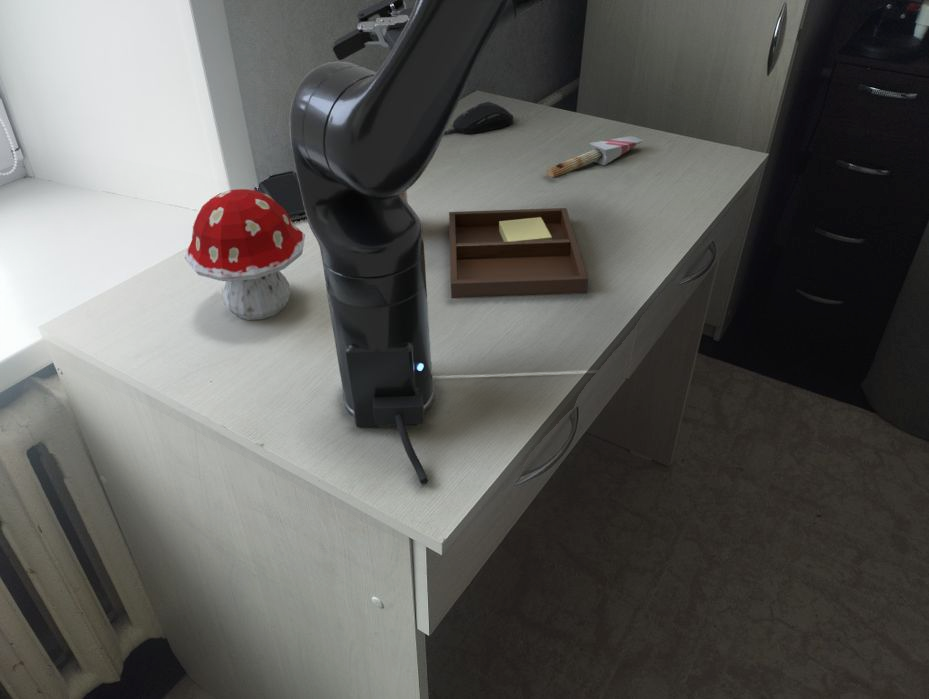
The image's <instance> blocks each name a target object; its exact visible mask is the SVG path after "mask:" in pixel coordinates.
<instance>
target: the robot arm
mask: <svg viewBox="0 0 929 699" xmlns="http://www.w3.org/2000/svg"><path fill="white" fill-rule="evenodd" d="M548 1H549V0H415V3H414V6H412V7H407V5H406V2H405V0H380V1H378V2H377V3H374V4H372V5H370V6H369V7H366V8H364V9H362V10H360V11H359V12H358V13H357V14H356V17H357V19H358V23H357V25H356V28H355V29H353V30H351V31H350V32H348V33H346V34H344V35H342V36H340V37H339V38H337V39H335V41H333V42H331V45H330V46H331V49H332V52H333V53H334V55H335V57H336V59H337V60H339V61H328V62H326V63H323V64H320V65H318V66H316V67H315V68H313V69H312V70H311V71H309V72H308V73H307V74H306V75H305V76H304V77H303V78H302V80H301V81H300V82H299V84H298V86H297V88H296V90H295V92H294V95H293V98H292V100H291V103H290V104H291V105H290V110H289V123H288V124H289V126H288V127H289V129H288V130H289V140H290V146H291V152H292V158H293V163H294V169H295V171H296V173H297V177H298V182H299V187H300V192H301V196H302V201H303V206H304V210H305V214H306V218H305V219H306V221H307V224H308V226H309V228H310V230H311V232H312V234H313V236H314V238H315V239H316V241H317V243H318V246H319V249H320V256H321V262H322V268H323V273H324V280H325V285H326V286H325V288H326V293H327V301H328V308H329V312H330V318H331V325H332V332H333V338H334V344H335V350H336V356H337V362H338V368H339V375H340V381H341V387H342V399H343V406H344V408H345V410H346V412H347V413H348V414H349V415H350V417H352V418H353V419H354V423H355V427H356V428H378V427H380V428H381V427H384V428H385V427H386V428H388V427H397V429H398V433H399V436H400V439H401V443H402V445H403V449H404V450H405V452H406V455H407V457H408V459H409V461H410V463H411V465H412V467H413V469H414V470H415V473H416V475H417V477H418V480H419V483H420V484H421V485H426V484H427V483H428V482H429V479H428V477H427V474H426V472H425V469H424V466H423V465H422V463H421V461H420V459H419V458H418V455H417V454H416V452H415V449H414V448H413V445H412V444H413V443H412V442H411V439H410V437H409V433H408V430H407V426H417V425H423V424H424V422H425V421H424V416H425V413H427V411H429V409H430V407H432V404H433V402H434V400H435V384H434V380H433V379H434V378H433V364H432V351H431V335H430V321H429V307H428V306H429V305H428V304H429V303H428V292H427V291H428V288H427V273H426V270H427V269H426V256H425V242H424V229H423V225H422V222H421V219H420V217H419V216H418V213H417V212H416V211H415V210H414V208H412V206H411V205H410V204H409V202H408V203H407V201H406V200H405V199H404V197H403V196H402V193H403V192H405V191H406V190H407V191H408V190H409V189H411V187H412V186H414V185H415V183H416V182H417V181H418V180H419V179H420V178H421V176H422V175H423V174H424V172H425V171H426V170H427V168H428V166H429V165H430V163H431V161H432V159H434V156H435V154H436V152H437V150H438V148H439V146H440V144H441V142H442V140H443V137H444V136H445V134H446V133H445V131H447V130H448V127H449V125H450V123H451V121H452V118H453V116H454V114H455V111H456V109H457V107H458V104H459V102H460V101H461V99H462V98H461V97H462V95H463V93H464V92H465V89H466V87H467V85H468V83H469V81H470V78H471V76H472V73H473V71H474V69H475V67H476V65H477V64H478V61H479V59H480V57H481V54H482V53H483V51H484V49H485V48H486V45H487V44H488V42H489V40H490V38H491V36H492V34H495V33H496V32H498V31H499V30H501V29H502V28H503V27H505V26H506V25H508V24H509V23H511V22H512V21H515V19H517V18H519V17H521V16H522V15H524V14H526V13H528V12H530V11H532V10H534V9H536V8H538V7H539V6H541V5H543V4H545V3H546V2H548ZM376 15H378V17H376V19H374V20H372V21H371V20H370V18H372V17H374V16H376ZM371 45H372V46H374V45H379V46H381V47H383V48H389V50H390V52H389V54H388V56H387V57H386V59H385V60H384V62H383V63H382V65H381V66H380V67H379V69H378V70H377V71H376V70H373V69H371V68H368V67H366V66H362V65H360V64H356V63H353V62H350V61H349V62H348V61H342V60H344V59H347V58H348V57H350V56H351V55H354V54H355V53H357V52H359V51H361V50H363V49H364V48H366V46H371ZM444 133H445V134H444Z"/></svg>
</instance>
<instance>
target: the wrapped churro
mask: <svg viewBox="0 0 929 699" xmlns="http://www.w3.org/2000/svg"><path fill="white" fill-rule="evenodd" d="M644 141H645V140H644V139H641V138H639V137H636V136H633V135H629V136H624V137H623V136H622V137H617V138H611V139H605V140H599V141H594V142H589V143H588V146H589V149H590V150H589V151H587V152H584V153H583V154H580V155H578V156H575V157H572V158H570V159H567V160H565V161H563V162H560V163H558V164H555V165H553V166H549V167H548V168H547V169H546V175H547V176H549V177H550V178H556V177H559V176H562V175H564V174H568V173H570V172H572V171H575V170H578V169H579V168H582V167H583V166H587V165H588V164H591V163H594V162H595V163H597V164H598V165H599V164H600V165H601V166H605V165H607V164H609V163H611V162H612V161H614V160H615V159H617V158H618V157H620V156H622V155H624V154H625V153H627V152H628V151H630V150H632V149H633V148H634V147H636V146H638V145H639V144H641V143H643V142H644Z"/></svg>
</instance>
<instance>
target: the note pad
mask: <svg viewBox="0 0 929 699" xmlns="http://www.w3.org/2000/svg"><path fill="white" fill-rule="evenodd" d="M499 232H500V234H501V236H502V238H503V241H504V242H511V241H539V240H552V236H551V235H550V233H549V231H548V229H547V227H546V226H545V224H544V222H543V220H542V218H541V217H537V218H527V219H517V220H507V221H499Z"/></svg>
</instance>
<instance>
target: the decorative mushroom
mask: <svg viewBox="0 0 929 699" xmlns="http://www.w3.org/2000/svg"><path fill="white" fill-rule="evenodd" d="M191 232H192V233H191V240H190V243H189V245H188V248H187V251H186V252H185V255H184V259H185V261H186V263H187V264H188V265H189V266H190V267H191V268H192V269H193V271H194V272H195V273H196V274H197V276H200V277H205V278H209V279H211V280H212V279H213V280H216V281H221V282H225V283H224V286H223V290H222V302H223V304H224V305H225V307H226V308H227V309H228V310H229V311H230V312H231V313H232V314H233V315H234V316H236V317H237V318H241V319H243V320H247V321H256V320H257V321H258V320H265V319H267V318H268V319H269V318H270V317H272V316H275V315H277V314H279V313H280V312H281V311H282V310H283V309H284V308H285V307H286V305H287V304H288V302H289V300H290V296H291V295H290V294H291V285H290V283H289V281H288V279H287V277H286V276H285V275H284V274H283V273H282V272H281V271H282V270H285V269H286V268H287V267H289V266H290V265H291V264H293V263H294V262H295V261H296V260H297V259H299V258H300V257H301V256H302V255H303V251H304V247H305V246H304V245H305V240H306V234H305V233H304V232H303V231H302V230H301V229H300V228H298V227H297V226H296V225H295V224H294V223H293V221H291V220H290V218H289V216H288V214H287V212H286V211H285V209H284V208H282V207H281V206H280V205H279V204H278V203H277V202H275V201H274V200H273V199H272V198H270V197H269V196H268V195H266V194H264V193H261V192H258V191H256V190H255V189H249V188H240V189H239V188H238V189H231V190H230V189H229V190H226V191H223V192H220V193H218V194H216V195H214V196H213V197H211V198H210V199H209V200H208V201H207V202H205V203H204V204H203V205H201V207H200V210H199V212H198V214H197V215H196V218H195V220H194V223H193V225H192V231H191Z"/></svg>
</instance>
